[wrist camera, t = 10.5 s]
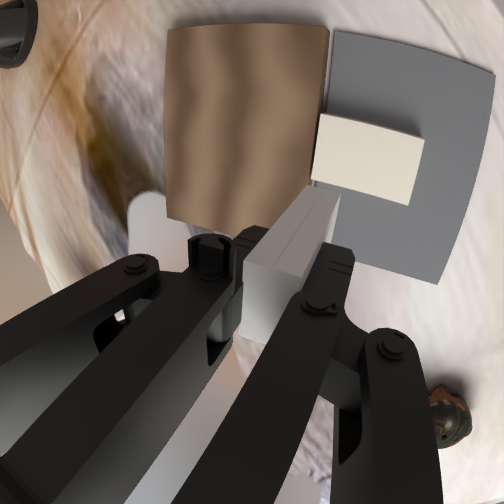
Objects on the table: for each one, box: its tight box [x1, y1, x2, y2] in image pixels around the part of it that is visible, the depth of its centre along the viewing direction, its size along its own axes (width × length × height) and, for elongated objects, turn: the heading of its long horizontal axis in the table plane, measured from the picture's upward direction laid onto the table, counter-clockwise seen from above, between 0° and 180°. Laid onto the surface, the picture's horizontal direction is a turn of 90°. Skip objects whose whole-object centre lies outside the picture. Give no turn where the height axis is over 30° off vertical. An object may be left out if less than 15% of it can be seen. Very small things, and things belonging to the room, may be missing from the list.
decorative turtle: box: [429, 385, 472, 449], centre depth 33 cm, size 10×15×8 cm, turn 73°
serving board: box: [164, 23, 330, 236], centre depth 29 cm, size 16×22×2 cm
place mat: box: [316, 31, 496, 285], centre depth 25 cm, size 15×22×1 cm
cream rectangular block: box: [311, 113, 425, 206], centre depth 25 cm, size 9×6×2 cm, turn 86°
